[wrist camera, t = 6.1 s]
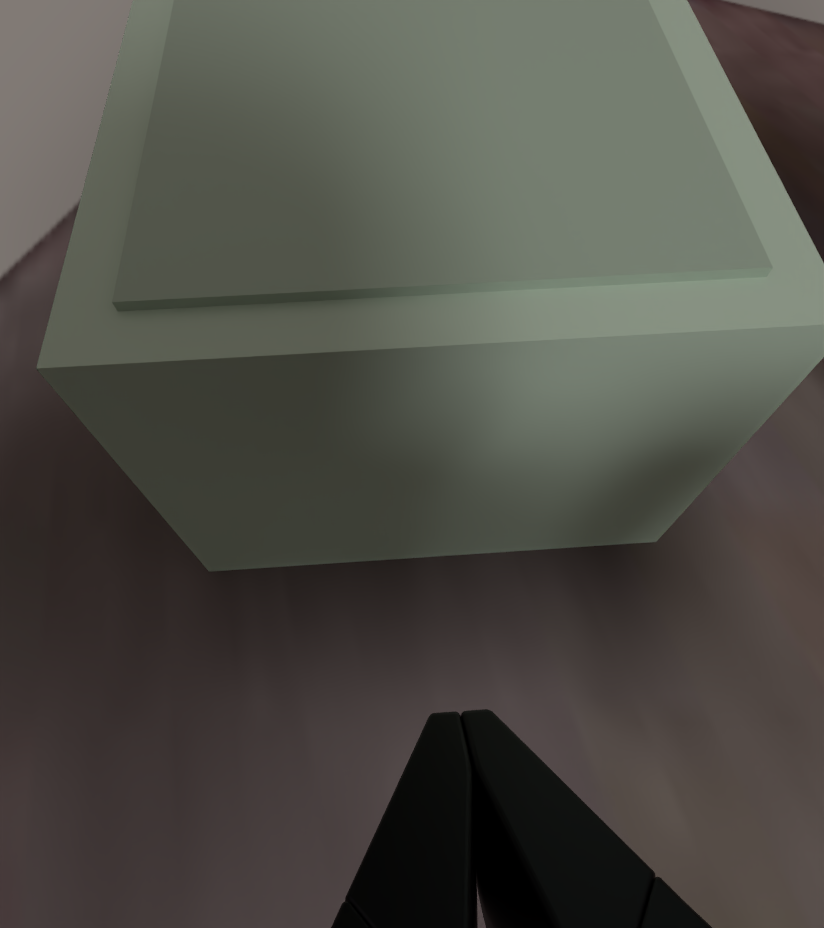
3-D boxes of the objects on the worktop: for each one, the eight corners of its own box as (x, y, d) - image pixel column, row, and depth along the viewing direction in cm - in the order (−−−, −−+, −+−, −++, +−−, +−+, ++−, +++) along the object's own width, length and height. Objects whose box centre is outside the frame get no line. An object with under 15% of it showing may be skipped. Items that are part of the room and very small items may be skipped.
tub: (653, 544, 17) (862, 313, 9) (211, 573, 17) (28, 359, 9) (551, 162, 25) (618, -146, 17) (244, 177, 25) (162, -132, 17)
